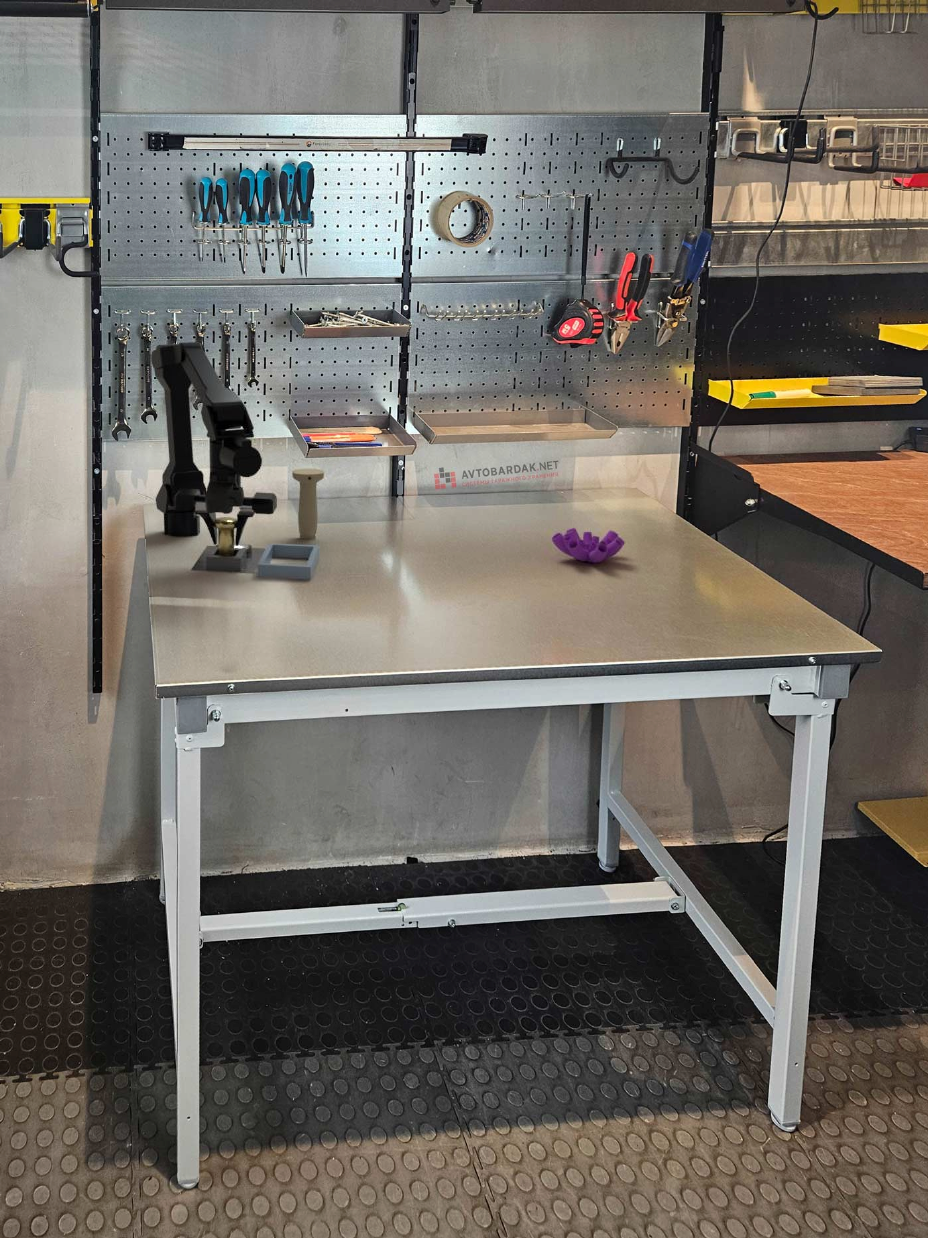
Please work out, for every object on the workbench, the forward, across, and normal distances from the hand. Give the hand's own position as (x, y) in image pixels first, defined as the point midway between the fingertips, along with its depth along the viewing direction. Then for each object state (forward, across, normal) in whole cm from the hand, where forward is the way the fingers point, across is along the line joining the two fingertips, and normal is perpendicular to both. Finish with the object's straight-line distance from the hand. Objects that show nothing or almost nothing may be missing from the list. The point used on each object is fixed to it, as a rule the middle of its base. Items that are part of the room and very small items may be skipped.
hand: (226, 544), depth 251 cm
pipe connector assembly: (+5, +71, +17) cm, 73 cm away
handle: (+5, +13, +22) cm, 26 cm away
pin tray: (+5, +12, 0) cm, 13 cm away
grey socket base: (+5, 0, +4) cm, 6 cm away
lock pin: (+3, 0, 0) cm, 3 cm away
